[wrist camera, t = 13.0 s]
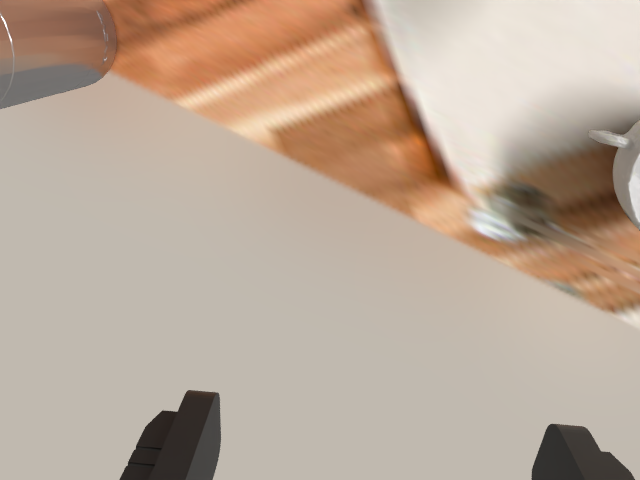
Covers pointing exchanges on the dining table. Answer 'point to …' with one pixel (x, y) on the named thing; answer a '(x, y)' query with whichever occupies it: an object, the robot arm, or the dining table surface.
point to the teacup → (625, 168)
